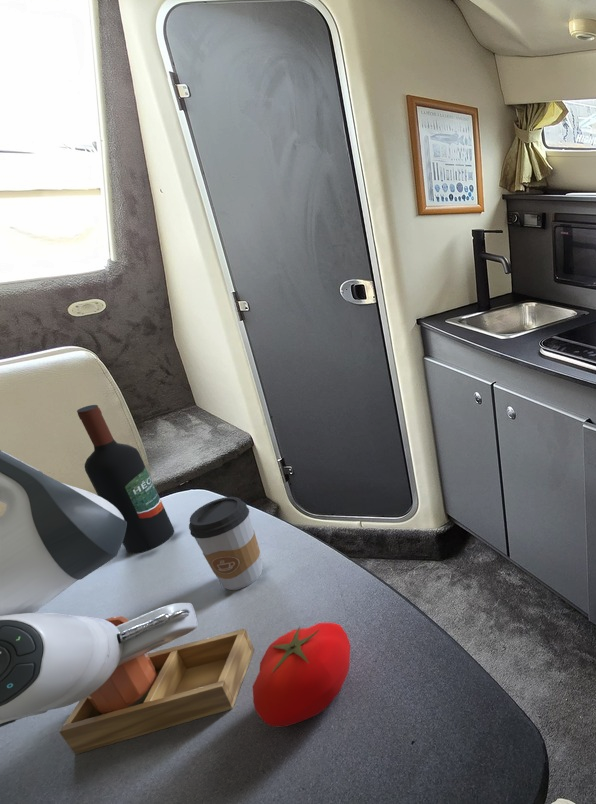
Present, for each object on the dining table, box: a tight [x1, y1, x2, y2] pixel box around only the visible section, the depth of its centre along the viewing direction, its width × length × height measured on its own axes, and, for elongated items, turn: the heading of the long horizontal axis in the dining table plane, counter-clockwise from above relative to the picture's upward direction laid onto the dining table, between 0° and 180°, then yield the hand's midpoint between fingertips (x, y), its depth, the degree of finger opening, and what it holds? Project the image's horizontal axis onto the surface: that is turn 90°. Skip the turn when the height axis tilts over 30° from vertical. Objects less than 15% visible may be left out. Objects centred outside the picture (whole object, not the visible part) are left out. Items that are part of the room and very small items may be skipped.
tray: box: [58, 628, 255, 755], centre depth 68 cm, size 9×18×5 cm, turn 107°
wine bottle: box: [76, 404, 175, 554], centre depth 94 cm, size 8×8×30 cm
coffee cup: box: [188, 496, 264, 591], centre depth 87 cm, size 8×8×15 cm
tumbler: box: [87, 616, 157, 714], centre depth 65 cm, size 6×6×10 cm
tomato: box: [252, 622, 352, 728], centre depth 67 cm, size 11×13×10 cm
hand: (111, 659), depth 65 cm, fingers closed on tumbler, 6 cm apart
